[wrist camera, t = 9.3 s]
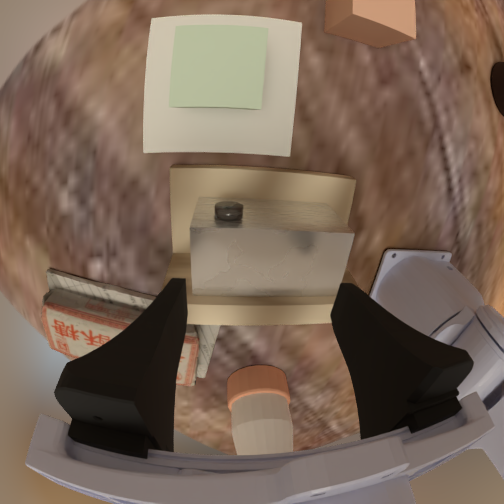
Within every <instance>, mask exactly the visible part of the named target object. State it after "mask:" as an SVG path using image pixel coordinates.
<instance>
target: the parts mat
mask: <svg viewBox="0 0 504 504" xmlns="http://www.w3.org/2000/svg"><path fill="white" fill-rule="evenodd" d="M181 25H239V26H253V27H263V28H268V39H267V50H266V61H265V72H264V84H263V95H262V106H261V110H246V109H227V108H174V107H169V92H170V77H171V65H172V54H173V45H174V36H175V28H176V26H181ZM301 30H302V23H300V22H295V21H288V20H282V19H274V18H266V17H256V16H242V15H184V16H170V17H160V18H152V20H151V27H150V34H149V42H148V52H147V62H146V75H145V91H144V118H143V153H158V152H222V153H246V154H262V155H275V156H287V157H290V151H291V142H292V132H293V123H294V113H295V102H296V92H297V81H298V69H299V57H300V44H301Z"/></svg>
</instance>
